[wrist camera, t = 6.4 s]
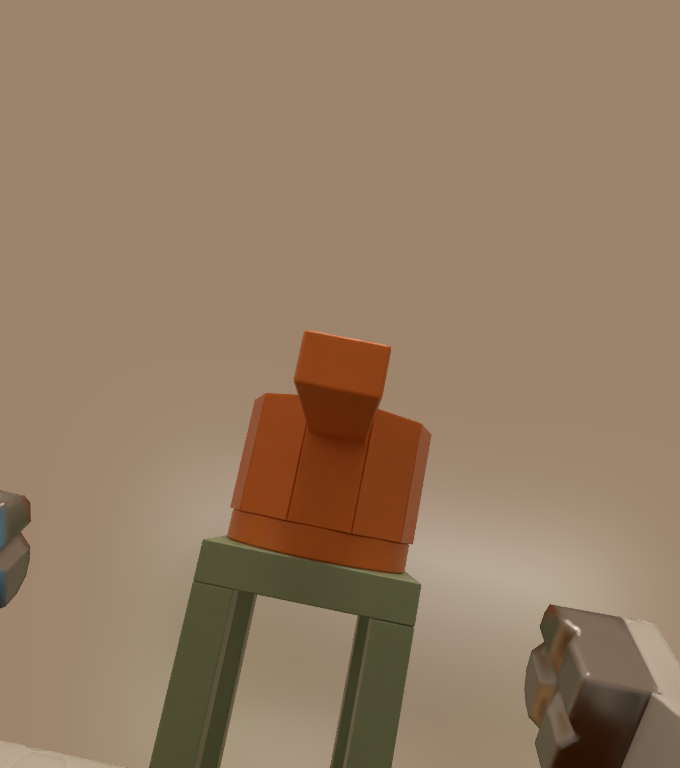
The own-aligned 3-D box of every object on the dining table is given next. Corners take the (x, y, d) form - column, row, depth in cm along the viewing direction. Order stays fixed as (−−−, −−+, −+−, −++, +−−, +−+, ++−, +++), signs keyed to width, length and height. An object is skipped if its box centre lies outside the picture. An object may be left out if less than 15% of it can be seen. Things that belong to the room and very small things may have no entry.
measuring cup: (237, 533, 31) (264, 413, 32) (399, 566, 31) (420, 444, 32) (127, 551, 15) (191, 306, 16) (470, 621, 14) (508, 367, 15)
